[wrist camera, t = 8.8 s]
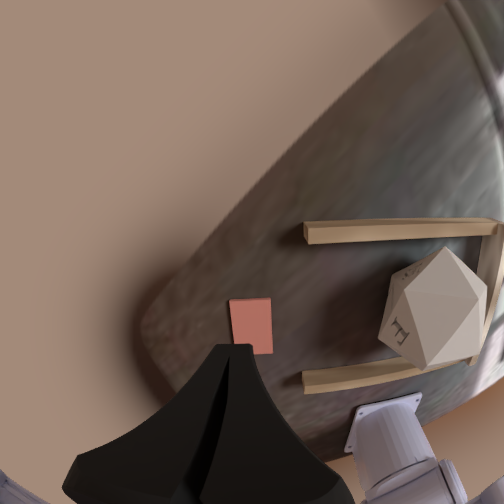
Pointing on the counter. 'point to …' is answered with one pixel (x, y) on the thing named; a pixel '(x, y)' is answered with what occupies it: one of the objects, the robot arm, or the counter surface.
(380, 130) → the counter surface
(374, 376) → the channel
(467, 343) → the die
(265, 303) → the mat
